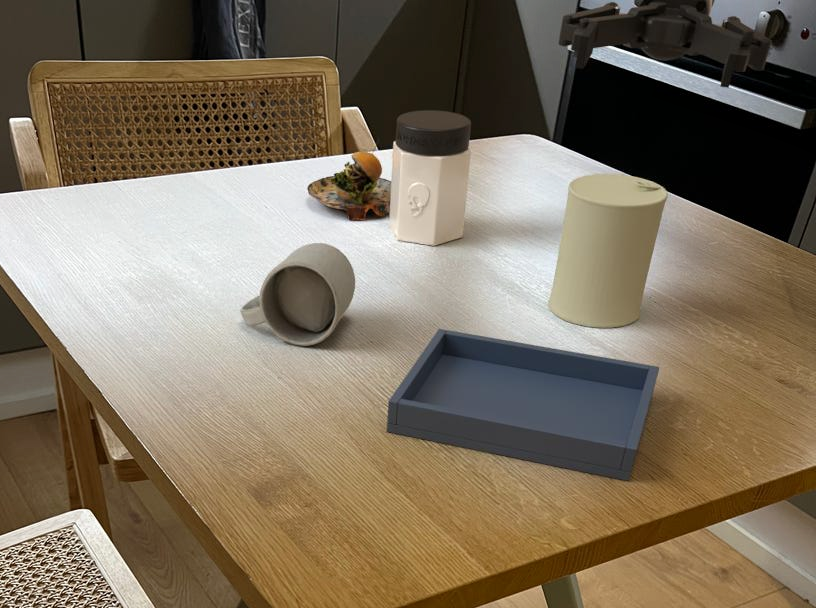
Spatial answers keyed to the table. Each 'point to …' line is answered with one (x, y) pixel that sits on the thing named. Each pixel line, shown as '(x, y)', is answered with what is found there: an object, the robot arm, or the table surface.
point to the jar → (429, 177)
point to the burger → (355, 188)
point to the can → (606, 249)
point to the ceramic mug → (304, 295)
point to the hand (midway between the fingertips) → (654, 61)
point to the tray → (526, 402)
